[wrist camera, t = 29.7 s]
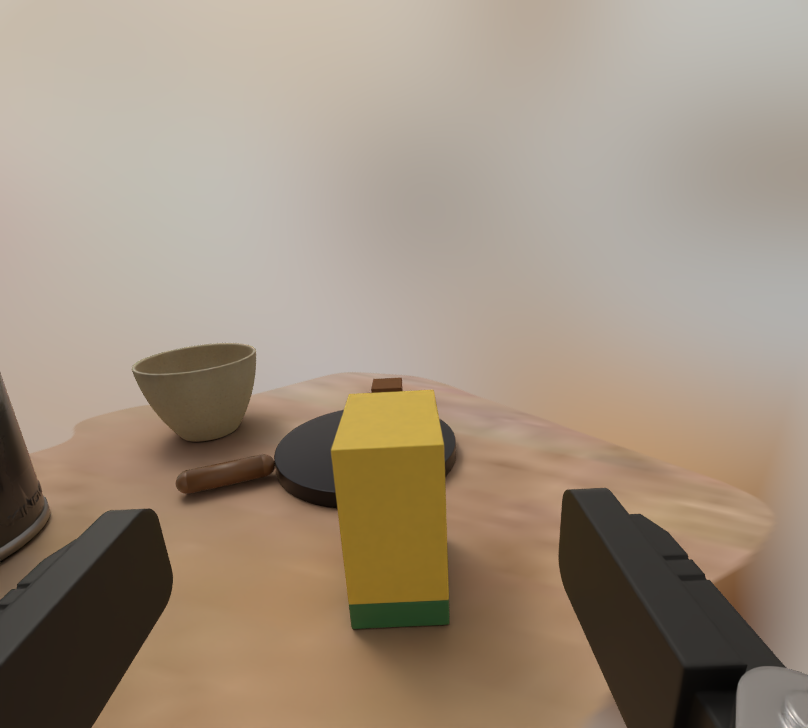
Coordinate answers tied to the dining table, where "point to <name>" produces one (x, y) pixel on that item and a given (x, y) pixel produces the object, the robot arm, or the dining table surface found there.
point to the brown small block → (387, 385)
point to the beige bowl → (199, 388)
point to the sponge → (392, 509)
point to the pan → (294, 463)
